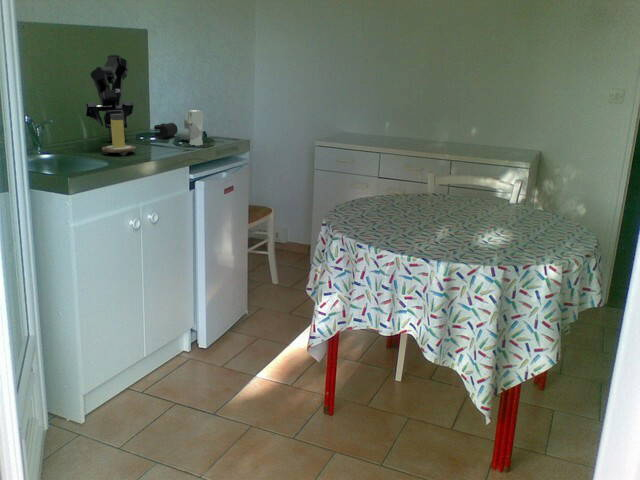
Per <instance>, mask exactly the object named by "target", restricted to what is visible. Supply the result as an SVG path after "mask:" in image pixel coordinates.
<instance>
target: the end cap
mask: <svg viewBox="0 0 640 480" xmlns="http://www.w3.org/2000/svg"><path fill="white" fill-rule="evenodd" d="M153 129H154V131H159V132H154V136H155V138H158V139H157V140H166V139H169V138H172V137H174V136H175V135H176V134H177V133H178V125H177V124H175V123H174V122H169V123H160V124H156V125H154V127H153Z"/></svg>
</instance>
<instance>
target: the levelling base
mask: <svg viewBox="0 0 640 480" xmlns="http://www.w3.org/2000/svg"><path fill="white" fill-rule="evenodd" d="M101 151H102V153H103V154H104V155H109V154H110V153H118V154H119V155H120V156H121V155H122V156H121V157H125V155H126V156H127V155H128V153H131V152H135V151H136V146H135V145H131V144H125V147H122V148H114V147H113V144H111V145H105V146H102V147H101Z"/></svg>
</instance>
